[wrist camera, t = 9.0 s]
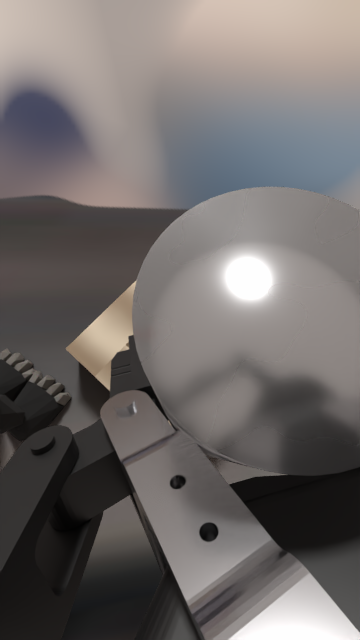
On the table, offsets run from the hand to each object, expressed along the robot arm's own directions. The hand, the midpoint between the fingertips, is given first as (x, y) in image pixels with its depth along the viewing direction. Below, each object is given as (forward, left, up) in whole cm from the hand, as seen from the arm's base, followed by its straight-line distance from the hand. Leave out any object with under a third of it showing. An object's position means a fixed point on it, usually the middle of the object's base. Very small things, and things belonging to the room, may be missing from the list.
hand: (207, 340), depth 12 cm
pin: (-1, -2, -6) cm, 7 cm away
